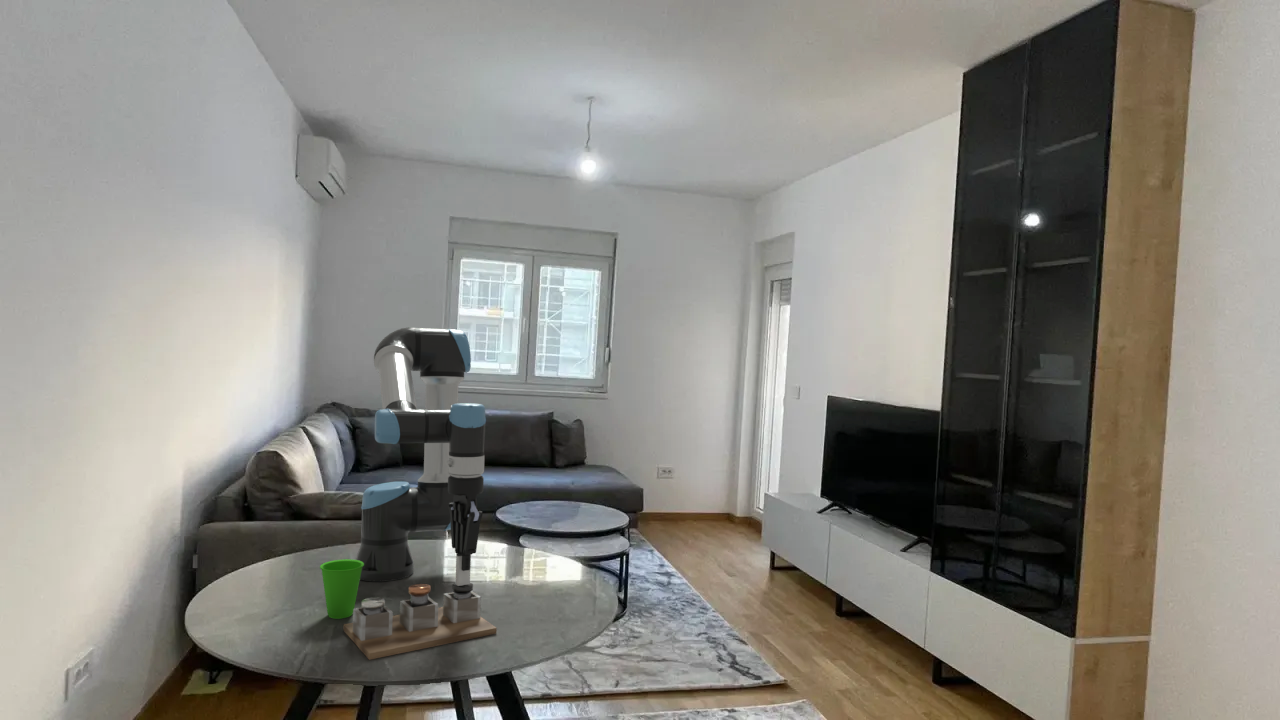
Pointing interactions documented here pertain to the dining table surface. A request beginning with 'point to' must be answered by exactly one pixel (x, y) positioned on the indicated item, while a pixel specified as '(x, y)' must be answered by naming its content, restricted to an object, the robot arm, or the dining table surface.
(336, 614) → the cup
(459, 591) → the black plunger
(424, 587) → the copper domed cylinder
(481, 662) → the dining table surface
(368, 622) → the panel
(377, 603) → the offwhite plunger
